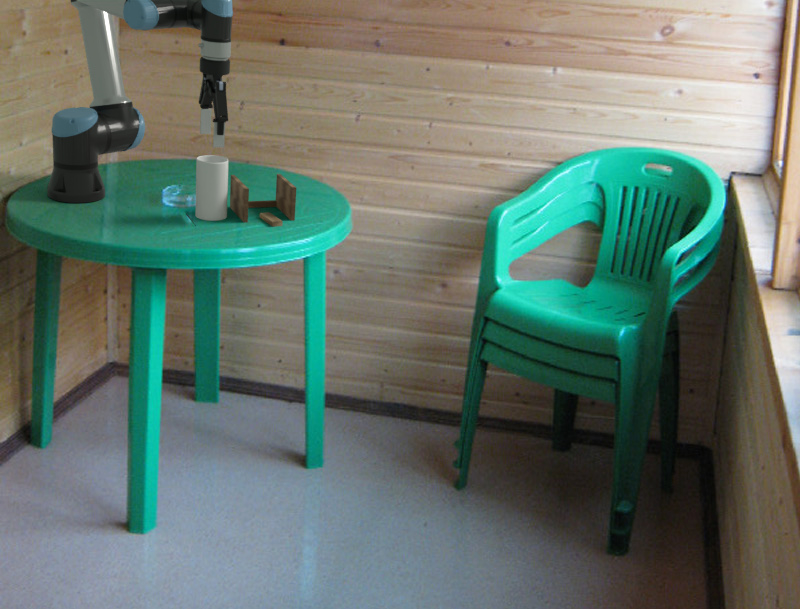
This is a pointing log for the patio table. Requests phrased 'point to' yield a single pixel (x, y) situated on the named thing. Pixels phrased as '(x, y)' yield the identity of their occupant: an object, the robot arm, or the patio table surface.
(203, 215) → the cup
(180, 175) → the patio table surface
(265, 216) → the offcut slab upper
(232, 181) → the rack
